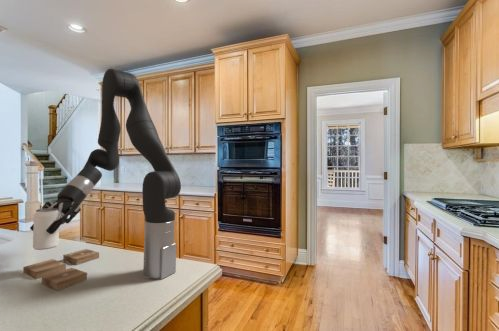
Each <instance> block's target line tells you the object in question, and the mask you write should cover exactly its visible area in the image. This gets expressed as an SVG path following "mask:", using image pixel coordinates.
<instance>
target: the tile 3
mask: <svg viewBox="0 0 499 331" xmlns="http://www.w3.org/2000/svg"><path fill="white" fill-rule="evenodd" d="M99 258H100V252H98V251H94V250H91V249H87V248H85V249H80V250H77V251H74V252H70V253H65V254H63V257H62V259H63V260H62V261H63V262H66V263H69V264H72V265H75V266H78V265H81V264H84V263H87V262H90V261H93V260H97V259H99Z"/></svg>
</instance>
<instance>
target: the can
mask: <svg viewBox="0 0 499 331" xmlns="http://www.w3.org/2000/svg"><path fill="white" fill-rule="evenodd" d="M57 216H58V209H57V208H45V209H41V208H39V209H36V210H35V213H34V215H33V224H34V226H33V231H32V232H33V233H32V234H33V236H32V248H33V249H34V250H37V251H38V250H40V251H42V250H48V249H53V248H56V247H57V246H58V245H59V239H60V235H59V233H60V227H59V228H58V229H57V230H56V231H55V232H54V233H53V234H49V233H48V232H47V231H46V230H47V229H48V227H49V226H50V225H51V224H52V223H53V222H54V221H56V218H57Z"/></svg>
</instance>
